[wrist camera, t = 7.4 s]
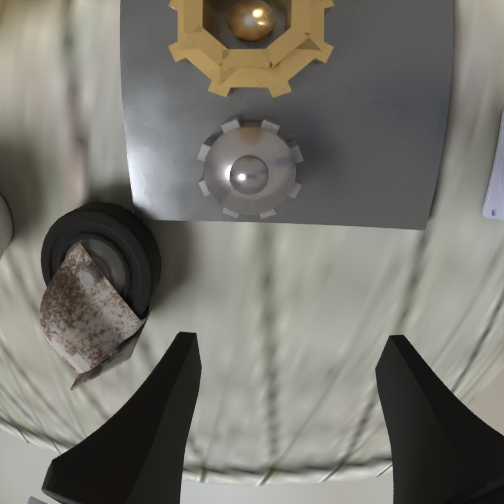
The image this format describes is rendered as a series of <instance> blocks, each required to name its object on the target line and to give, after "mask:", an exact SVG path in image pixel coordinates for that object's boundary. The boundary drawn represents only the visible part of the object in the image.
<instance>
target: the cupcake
mask: <svg viewBox="0 0 504 504" xmlns="http://www.w3.org/2000/svg"><path fill="white" fill-rule="evenodd" d="M12 234H13V225H12V218H11V214H10V212H9V209H8V207H7V204H6V202H5V200H4V199H3V197H2V196H1V195H0V259H1V257H2V255H3V254H4V252H5V250H6V249H7V247H8V245H9V244H10V241H11V237H12Z"/></svg>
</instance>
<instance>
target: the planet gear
mask: <svg viewBox="0 0 504 504" xmlns="http://www.w3.org/2000/svg"><path fill="white" fill-rule="evenodd" d="M236 1H237V0H171V1H170V4H169V7H170V8H172V9H174V10H175V11H177V12H178V42H176V43H174V44H172V45H170V46H168V47H169V49H170V52H171V54H172V56H173V58H174V60H175V62H178V63H186V62H188V61H190V62H191V63H193V64H194V65H195V66H196V67H197V68H198V69H199V70H201V71H202V72H203V73H204V74H205V75H206V76H207V77H208V78H210V79H211V80H212V82H211V84H210V86H209V89H208V91H210V92H213V93H216V94H218V95H221V96H224V97H228V96H229V95H231V92H232V90H233V88H234V87H265V88H269V90H270V92H271V95H272V97H273V98H274V97H277V96H280V95H283V94H286V93H289V92H292V91H291V88H290V86H289V83H288V80H289V79H291V78H292V77H293V76H294V75H295V74H297V73H298V72H299V71H300V70H301V69H303V68H304V67H305V66H306V65H307V64H309V63H310V62H311V61H314V62H316V63H318V64H324V63H326V62H327V60H328V58H329V56H330V54H331V52H332V50H333V48H334V47H333V46H331V45H329V44H327V43H325V42H324V13H328V12H329V11H330V10H331V9H332V8H333V7H334V4H333V1H332V0H268V1H269V2H270V3H271V4H272V5H274V6H275V7H276V8H277V9H278V10H279V11H280V12H281V13H282V14H284V15H285V33H284V34H282V35H281V36H280V37H279V38H278V39H276V40H275V41H274V42H273V43H272V44H270V45H269V46H268V47H267V48H266V49H230V48H229V47H228V46H227V45H226V44H224V43H223V42H222V41H221V40H220V15H221V14H222V13H223V12H224V11H226V10H227V9H228V8H229V7H230V6H231V5H232V4H234V3H235V2H236Z"/></svg>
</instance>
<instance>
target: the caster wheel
mask: <svg viewBox="0 0 504 504" xmlns="http://www.w3.org/2000/svg"><path fill="white" fill-rule="evenodd" d="M41 267H42V274H43V278H44V281H45V284H46V286H47V288H46V290H45V293H44V295H43V298H42V301H41V306H40V321H41V326H42V329H43V332H44V334H45V336H46V338H47V340H48V341H49V342H50V344H51V345H52V346H53V347H54V348H55V350H56V351H57V352H58V353H59V354H60V355H61V356H62V357H63V358H64V360H65V361H66V362H67V363H68V364H69V365H70V366H71V367H72V368H73V369H74V370H75V371H76V372H77V373H79V375H78V377H77V378H76V380H75V382H74V384H73V385H72V387H71V389H70V390H73V389H75V388H77V387H79V386H81V385H83V384H85V383H86V382H88V381H90V380H92V379H94V378H96V377H98V376H99V375H101V374H103V373H105V372H107V371H109V370H110V369H112V368H114V367H116V366H118V365H120V364H121V363H123V362H125V361H127V360H128V359H129V358H130V357H131V355H132V353H133V350H134V348H135V346H136V343H137V341H138V339H139V337H140V334H141V332H142V330H143V328H144V326H145V323H146V321H147V319H148V317H149V315H150V312H151V303H150V301H151V299H152V296H153V294H154V292H155V290H156V288H157V285H158V282H159V279H160V272H161V260H160V254H159V249H158V247H157V244H156V241H155V239H154V237H153V235H152V233H151V232H150V230H149V229H148V227H147V226H146V225H145V224H144V223H143V222H142V221H141V220H136V216H135V215H134V214H133V213H132V212H130V211H129V210H127V209H125V208H123V207H121V206H118V205H115V204H111V203H99V202H98V203H92V204H88V205H85V206H82V207H80V208H78V209H75V210H73V211H71V212H69V213H67V214H65V215H63V216H62V217H60V218H59V219H58V220H57V221H56V222H55V223H54V224H53V225H52V226H51V227H50V229H49V231H48V233H47V235H46V236H45V239H44V242H43V246H42V250H41Z"/></svg>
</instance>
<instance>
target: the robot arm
mask: <svg viewBox="0 0 504 504" xmlns="http://www.w3.org/2000/svg"><path fill="white" fill-rule="evenodd" d="M493 210H494V211H493ZM492 211H493V213H492ZM482 214H483V215H484V216H485V217H486V218H491V219H499V220H504V110H503V112H502V119H501V126H500V132H499V138H498V144H497V150H496V155H495V160H494V164H493V169H492V174H491V178H490V182H489V186H488V190H487V194H486V198H485V201H484V205H483V209H482ZM201 369H202V366H201V360H200V354H199V348H198V341H197V335H196V333H190V332H179V333H178V334H177V335H176V337H175V339H174V340H173V342H172V343H171V345H170V347H169V348H168V350H167V351H166V353H165V354H164V356H163V357H162V359H161V360H160V361H159V363H158V364H157V366H156V367H155V368H154V370H153V371H152V372H151V374H150V375H149V376H148V378H147V379H146V380H145V381H144V383H143V384H142V385H141V386H140V387H139V389H138V390H137V391H136V392H135V394H134V395H133V396H132V397H131V398H130V399H129V400H128V401H127V402H126V403H125V404H124V405H123V407H122V408H121V409H120V410H119V411H118V412H117V413H115V414H114V415H113V416H112V417H111V418H110V419H109V420H108V421H107V422H106V423H105V424H103V425H102V426H101V427H100V428H99V429H97V430H96V431H95V432H94V433H92V434H91V435H90V436H88V437H87V438H86V439H84V440H83V441H82V442H80V443H79V444H77V445H76V446H75V447H73V448H71V449H70V450H68V451H66V452H65V453H63V454H62V455H60V456H58V457H57V458H55V459H53V460H52V462H51V464H50V466H49V468H48V471H47V474H46V477H45V479H44V482H43V486H42V489H41V490H42V491H43V492H44V493H45V494H46V495H48V496H49V497H51V498H53V499H54V500H56V501H58V502H59V503H61V504H180V492H181V481H182V471H183V462H184V454H185V447H186V442H187V437H188V433H189V429H190V425H191V421H192V417H193V413H194V409H195V405H196V401H197V397H198V392H199V386H200V378H201ZM375 371H376V380H377V387H378V393H379V398H380V402H381V406H382V410H383V414H384V418H385V422H386V426H387V430H388V434H389V439H390V444H391V452H392V463H393V483H394V495H393V496H394V498H393V504H504V436H503V435H502V434H500V433H499V432H497V431H496V430H494V429H493V428H491V427H490V426H489V425H487V424H486V423H484V422H483V421H482V420H481V419H480V418H478V417H477V416H476V415H475V414H474V413H473V412H471V411H470V410H469V409H468V408H467V407H466V406H465V405H464V404H463V403H462V402H461V401H460V400H459V399H458V398H457V397H456V396H455V395H454V394H453V393H452V392H451V391H450V390H449V389H448V388H447V387H446V386H445V385H444V383H443V382H442V381H441V380H440V379H439V378H438V377H437V375H436V374H435V373H434V372H433V371H432V369H431V368H430V367H429V366H428V364H427V363H426V362H425V361H424V360H423V358H422V357H421V356H420V355H419V353H418V352H417V351H416V350H415V348H414V347H413V346H412V345H411V343H410V342H409V341H408V340H407V338H406V337H405V336H404V335H390V336H389V338H388V340H387V343H386V345H385V348H384V350H383V352H382V355H381V357H380V359H379V362H378V364H377V366H376V368H375ZM28 504H47V503H44V502H42V501H40V500H38V499H36V498H34V497H32V496H31V497H29V501H28Z"/></svg>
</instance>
